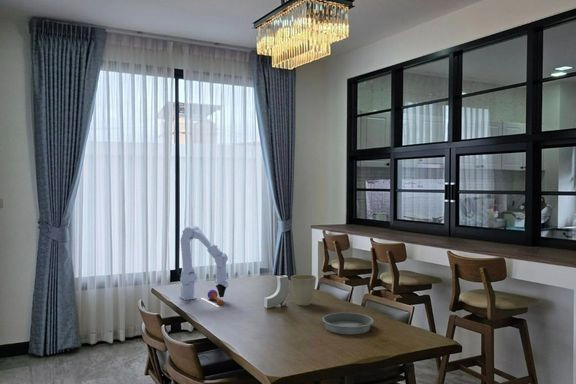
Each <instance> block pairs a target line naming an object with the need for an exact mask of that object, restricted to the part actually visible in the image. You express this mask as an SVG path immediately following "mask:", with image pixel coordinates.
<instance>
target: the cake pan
mask: <svg viewBox="0 0 576 384" xmlns="http://www.w3.org/2000/svg"><path fill="white" fill-rule="evenodd" d="M321 320H322V321H323V323H324V326H325V329H326V330H327V331H329V332H332V333H335V334H340V335H341V334H342V335H360V334H364V333H367V332H369V331H370V330H371V325H373V323H374V319H373V318H372V317H371V316H369V315H366V314H362V313H358V312H333V313H332V312H331V313H329V314H326V315H324V316H323V317H322V319H321Z"/></svg>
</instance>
